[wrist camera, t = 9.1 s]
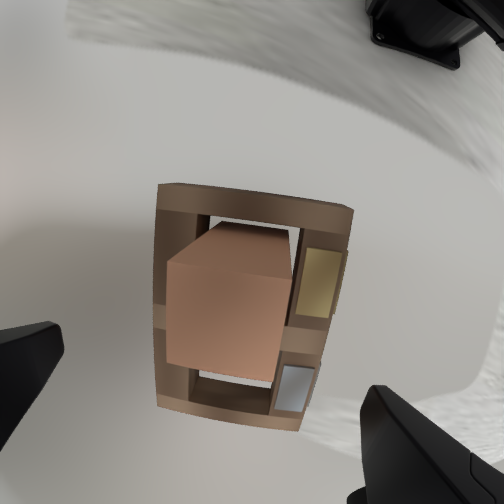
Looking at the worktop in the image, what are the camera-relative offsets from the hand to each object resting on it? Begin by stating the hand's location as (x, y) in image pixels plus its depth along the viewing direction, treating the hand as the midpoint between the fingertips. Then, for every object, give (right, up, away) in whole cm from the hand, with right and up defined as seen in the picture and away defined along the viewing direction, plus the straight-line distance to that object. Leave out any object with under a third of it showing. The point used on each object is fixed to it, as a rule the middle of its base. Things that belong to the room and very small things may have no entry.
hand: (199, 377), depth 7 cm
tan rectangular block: (+1, +3, +11) cm, 12 cm away
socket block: (+1, 0, +12) cm, 12 cm away
